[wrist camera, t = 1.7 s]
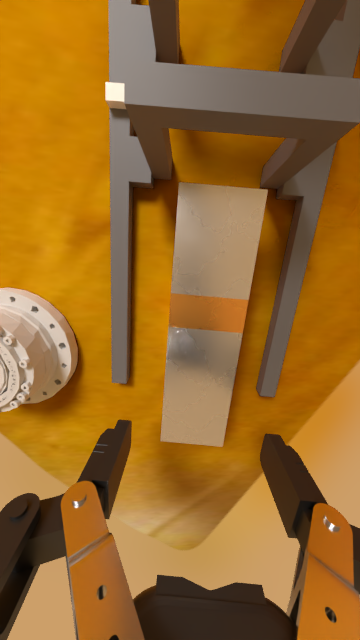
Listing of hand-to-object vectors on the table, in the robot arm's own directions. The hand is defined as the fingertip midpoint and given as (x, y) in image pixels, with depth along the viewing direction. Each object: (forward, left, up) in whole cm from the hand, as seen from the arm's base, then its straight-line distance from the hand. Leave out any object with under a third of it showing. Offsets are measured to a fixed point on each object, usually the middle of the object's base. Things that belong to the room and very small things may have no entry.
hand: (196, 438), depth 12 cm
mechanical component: (-2, -15, -7) cm, 16 cm away
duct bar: (-6, 0, -6) cm, 8 cm away
